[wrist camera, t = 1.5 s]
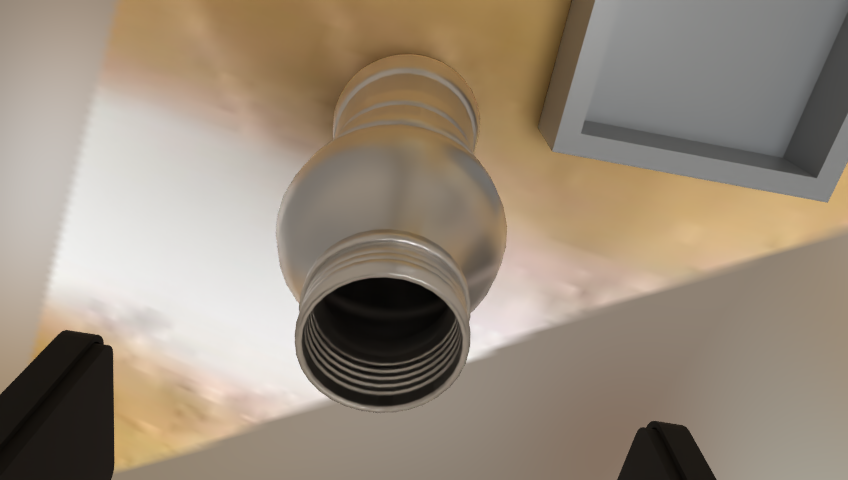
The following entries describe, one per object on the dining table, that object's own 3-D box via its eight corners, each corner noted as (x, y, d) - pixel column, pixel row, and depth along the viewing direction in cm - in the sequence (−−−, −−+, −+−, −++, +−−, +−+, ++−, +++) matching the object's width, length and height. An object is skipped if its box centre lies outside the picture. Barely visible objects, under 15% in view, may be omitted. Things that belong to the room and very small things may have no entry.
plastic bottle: (491, 152, 32) (576, 421, 14) (365, 191, 33) (294, 491, 15) (454, 25, 30) (499, 155, 11) (319, 71, 31) (163, 259, 12)
